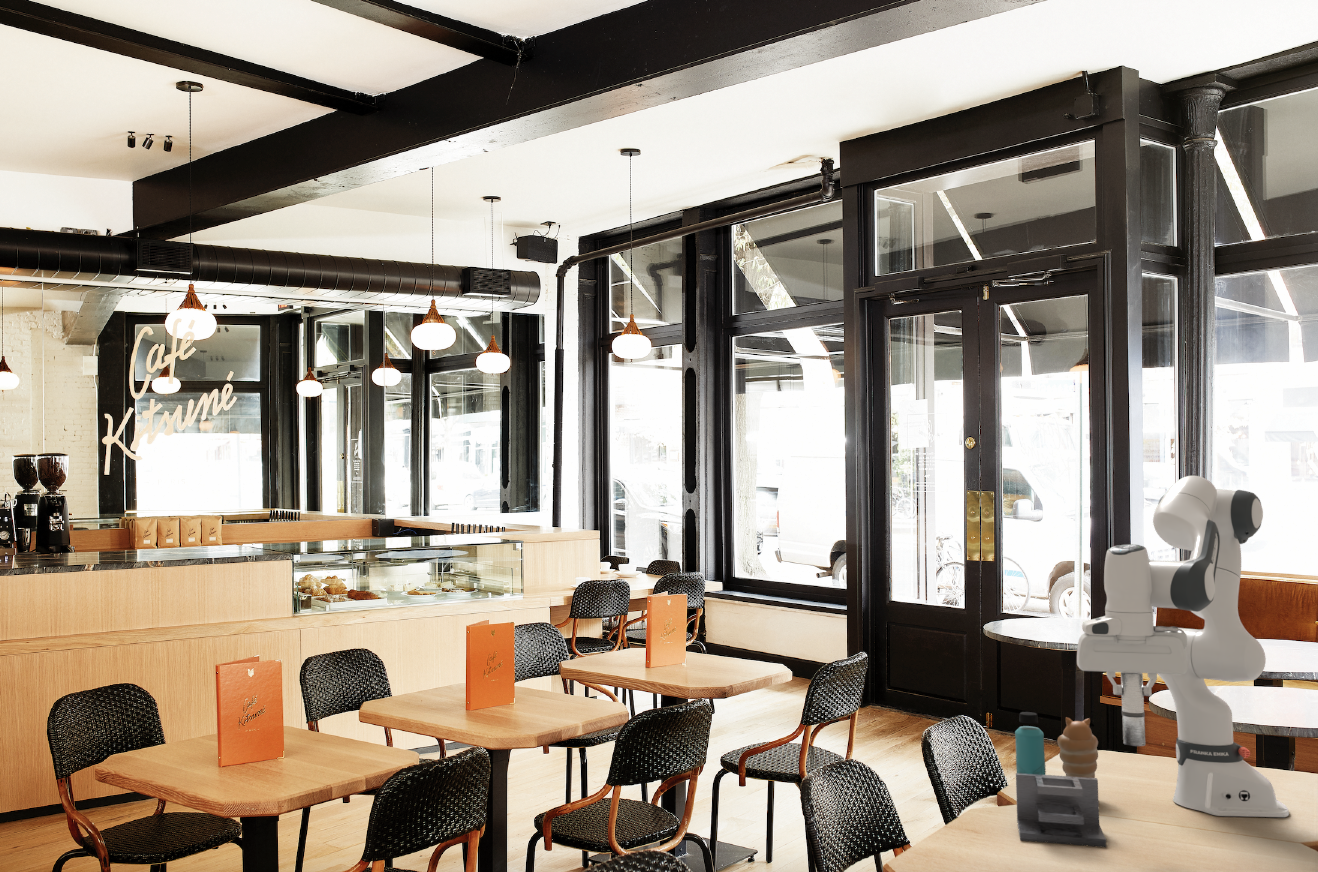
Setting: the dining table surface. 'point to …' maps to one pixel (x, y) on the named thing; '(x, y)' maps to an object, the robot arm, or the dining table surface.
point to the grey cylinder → (1133, 709)
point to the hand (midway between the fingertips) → (1132, 695)
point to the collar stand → (1058, 809)
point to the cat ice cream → (1078, 749)
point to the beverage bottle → (1029, 746)
